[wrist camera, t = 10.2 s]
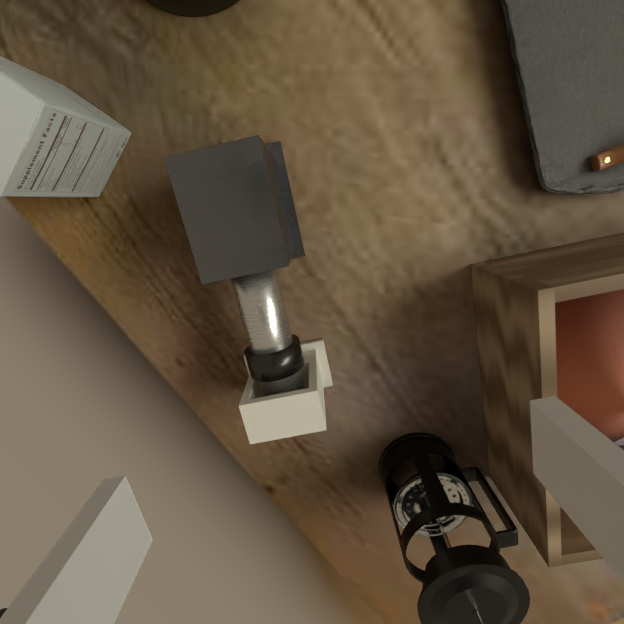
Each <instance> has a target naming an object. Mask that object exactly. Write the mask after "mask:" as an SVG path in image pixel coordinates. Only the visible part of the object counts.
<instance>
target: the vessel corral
mask: <svg viewBox="0 0 624 624" xmlns="http://www.w3.org/2000/svg"><path fill="white" fill-rule="evenodd" d="M471 272H472V283H473V294H474V305H475V316H476V328H477V339H478V350H479V361H480V372H481V383H482V394H483V405H484V416H485V427H486V438H487V449H488V460H489V471H490V478H491V479H492V481H493V482H494V484H495V485H496V487H497V488H498V490H499V492H500V493H501V495H502V496H503V498H504V499H505V501H506V502H507V504H508V505H509V507H510V508H511V510H512V511H513V513H514V515H515V516H516V518H517V519H518V521H519V522H520V524H521V525H522V527H523V528H524V530H525V531H526V533H527V534H528V536H529V537H530V539H531V541H532V542H533V544H534V545H535V547H536V548H537V550H538V551H539V553H540V554H541V556H542V557H543V559H544V560H545V562H546V563H547V565H548V567H553V566H559V565H565V564H571V563H578V562H584V561H590V560H596V559H603V558H602V556H601V555H600V554H599V553H598V551H597V550H596V549H595V548H594V547H593V545H592V544H591V543H590V542H589V540H588V539H587V538H586V537H585V536H584V534H583V533H582V532H581V531H580V530H579V528H578V527H577V526H576V525H575V523H574V522H573V521H572V520H571V519H570V517H569V516H568V515H567V514H566V512H565V511H564V510H563V509H562V508H561V506H560V505H559V504H558V503H557V502H556V500H555V499H554V498H553V497H552V495H551V494H550V493H549V492H548V491H547V489H546V488H545V487H544V486H543V484H542V483H541V482H540V481H539V480H538V478H537V477H536V476H535V475H534V474H533V455H532V435H531V415H530V400H535V399H541V398H546V397H552V396H556V397H557V365H556V327H555V303H556V302H561V301H566V300H571V299H576V298H581V297H586V296H591V295H596V294H601V293H606V292H611V291H616V290H621V289H624V233H620V234H615V235H610V236H605V237H601V238H596V239H591V240H586V241H581V242H576V243H572V244H567V245H562V246H557V247H552V248H547V249H543V250H538V251H533V252H528V253H523V254H518V255H513V256H509V257H504V258H499V259H494V260H489V261H484V262H480V263H475V264H471ZM619 447H620V448H621V449H622V450H624V446H619Z"/></svg>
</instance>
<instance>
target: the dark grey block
mask: <svg viewBox="0 0 624 624" xmlns="http://www.w3.org/2000/svg"><path fill="white" fill-rule="evenodd" d="M163 158H164V161H165V164H166V168H167V171H168V174H169V177H170V181H171V184H172V187H173V191H174V194H175V197H176V201H177V204H178V207H179V211H180V214H181V217H182V220H183V224H184V227H185V230H186V234H187V237H188V240H189V244H190V247H191V250H192V254H193V257H194V260H195V263H196V267H197V270H198V273H199V277H200V280H201V283H202V284H207V283H212V282H216V281H221V280H226V279H230V278H235V277H240V276H245V275H249V274H254V273H259V272H264V271H268V270H273V269H278V268H282V267H287V266H289V263H290V260H291V259H293V258H298V257H302V256H305V253H304V249H303V244H302V239H301V235H300V230H299V226H298V221H297V216H296V212H295V207H294V202H293V198H292V193H291V189H290V184H289V179H288V175H287V170H286V166H285V161H284V156H283V152H282V147H281V142H280V141H279V142H275V143H271V144H265V143H264V142H263V141H262V139H261V138H260V137H259V135H257V136H253V137H249V138H245V139H240V140H236V141H232V142H227V143H223V144H219V145H214V146H210V147H206V148H202V149H197V150H193V151H189V152H184V153H180V154H176V155H171V156H167V157H163Z"/></svg>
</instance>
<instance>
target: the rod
mask: <svg viewBox="0 0 624 624" xmlns="http://www.w3.org/2000/svg"><path fill="white" fill-rule="evenodd" d="M230 279H231V282H232V286H233V289H234V293H235V297H236V300H237V304H238V307H239V311H240V315H241V318H242V322H243V325H244V329H245V332H246V336H247V340H248V343H249V346H248V347H247V348H246V349H245V351H244V354H245V357H246V361H247V364H248V368H249V371H250V375H251V378H252V379H253V380H255V381H259V383H260V386H261V390H262V393H263V397H265V396H270V395H275V394H281V393H286V392H291V391H296V390H301V389H305V388H304V384H303V380H302V376H301V372H300V370H301V369H302V368H303V366H304V364H305V361H304V357H303V353H302V349H301V345H300V340H299V337H298V336H296V335H293V334H291V330H290V326H289V322H288V318H287V314H286V310H285V306H284V302H283V297H282V293H281V289H280V285H279V281H278V277H277V273H276V269H273V270H268V271H264V272H259V273H254V274H249V275H245V276H240V277H235V278H230Z"/></svg>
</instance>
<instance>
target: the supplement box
mask: <svg viewBox="0 0 624 624" xmlns="http://www.w3.org/2000/svg"><path fill="white" fill-rule="evenodd" d="M130 136H131V132H130V131H129V130H127V129H126V128H125V127H123V126H122V125H121V124H119V123H118V122H116V121H115V120H114V119H112V118H111V117H109V116H108V115H106V114H105V113H104V112H102V111H101V110H99V109H98V108H96V107H95V106H93V105H92V104H90V103H89V102H88V101H86V100H85V99H83V98H82V97H80V96H79V95H77V94H76V93H74V92H73V91H72V90H70V89H69V88H67V87H66V86H64V85H62V84H60V83H58V82H55V81H53V80H51V79H49V78H47V77H45V76H42V75H40V74H38V73H36V72H34V71H31V70H29V69H27V68H25V67H23V66H21V65H18V64H16V63H14V62H12V61H10V60H8V59H5V58H3V57H1V56H0V196H1V197H3V196H13V197H99V196H100V194H101V192H102V191H103V189H104V187H105V185H106V183H107V181H108V179H109V177H110V175H111V173H112V171H113V169H114V167H115V166H116V164H117V162H118V160H119V158H120V156H121V154H122V152H123V150H124V148H125V146H126V144H127V142H128V140H129V138H130Z"/></svg>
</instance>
